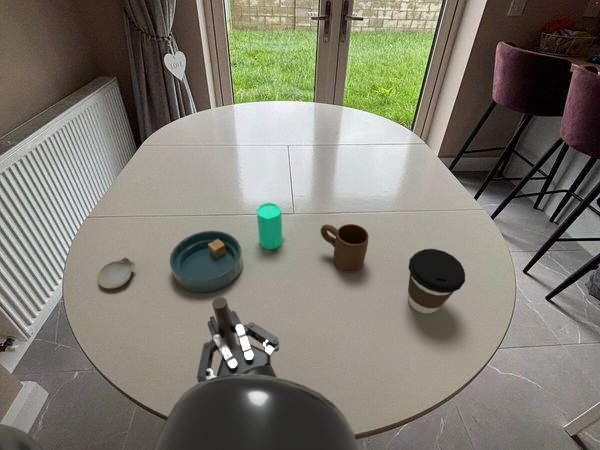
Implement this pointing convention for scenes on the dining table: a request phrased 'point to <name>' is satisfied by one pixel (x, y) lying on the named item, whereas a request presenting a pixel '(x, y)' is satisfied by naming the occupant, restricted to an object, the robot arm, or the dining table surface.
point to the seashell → (115, 273)
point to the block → (217, 248)
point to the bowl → (205, 262)
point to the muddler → (224, 322)
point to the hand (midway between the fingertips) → (220, 316)
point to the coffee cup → (433, 279)
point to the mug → (347, 245)
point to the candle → (269, 225)
